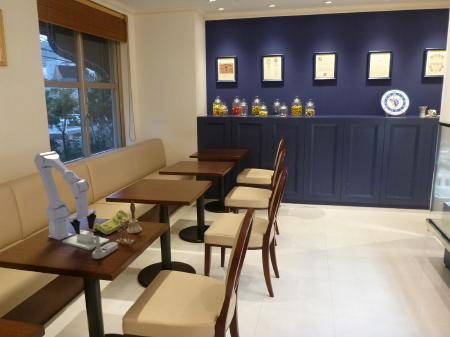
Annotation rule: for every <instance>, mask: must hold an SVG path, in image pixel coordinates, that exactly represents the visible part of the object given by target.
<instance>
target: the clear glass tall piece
mask: <svg viewBox="0 0 450 337" xmlns="http://www.w3.org/2000/svg"><path fill="white" fill-rule="evenodd" d="M122 220H124V221H125V222H124V224H123V221H122ZM122 220H120V224H121V225H120V226H122V227H121V228H119V226H118V227H117V230H116V231H117V232H118V233H120V232H121V234H120V236H119V238H118V239H116V240H115V242H116V243H118V244H120V243H121V245H127V246H128V245H129V246H131V245H133V244H134V243H135V242H136V240H135V239H132V238H131V237H130V235H129V233H127V230H129V229H130V228H131V224H130V223H128V220H127V221H126V220H125V219H122ZM121 221H122V223H121ZM128 227H130V228H129V229H128ZM123 234H124V235H123ZM122 235H123V237H122Z"/></svg>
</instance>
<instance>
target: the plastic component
mask: <svg viewBox="0 0 450 337" xmlns="http://www.w3.org/2000/svg"><path fill="white" fill-rule="evenodd" d="M129 218H130V216H129V214H128V212H126V211H124V210H122V209H120V210H118V211H117V212H116V214H114V215H112V218H110V219H109V220H107V221H105V222H103V223H101V224H99V223H97V222H96V223H95V222H94V225H93V229H91V230H92V231H91V232H93V233H95V232H98V231H99V232H101V233H103V234H105V235H110V234H113V233H114V232H115V231H117V227H118V226H119V229H121V228H122V226H120V225H121V224H120V220H122V219H125V220H126V221H127V222H128V220H129ZM122 221H123V224H125V223H124V222H125V221H124V220H122ZM122 221H121V223H122Z"/></svg>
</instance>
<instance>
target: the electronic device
mask: <svg viewBox="0 0 450 337" xmlns="http://www.w3.org/2000/svg"><path fill="white" fill-rule="evenodd" d="M94 236H95V241H96V243H95V244H96V248H95V249H94V251H92V253H91V256H92V258H93V259H95V260H97V259H99V260H100V259H102V258H105V257H106V256H108V255H110V254H111V253H113V252H114V251H116V250H117V249H118V248H119V243H116V241H112V242H111V241H110V242H107V243H105V244H103V246H102V245H100V238H99V237H100V235H94Z"/></svg>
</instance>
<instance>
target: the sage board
mask: <svg viewBox="0 0 450 337" xmlns="http://www.w3.org/2000/svg"><path fill="white" fill-rule="evenodd" d="M95 236H96V235H94V237H95ZM99 238H100V246H102V245H105V244H108V243H110V239H109V238H104V237H101V236H99ZM62 243H63V244H66V245H70V246H72V247H73V246H74V247H77V248H79V249H80V248H81V249H83V250H87V251H91V250H94V249H96V248H95V247H96V244H95V243H96V241H95V240H94V242H91V243H87V242H83V241H79V240H77V234H76V235H74V236H73V235H72V236H70V237H67V238H66V239H65V238H64V239H62ZM104 243H105V244H104Z"/></svg>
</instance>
